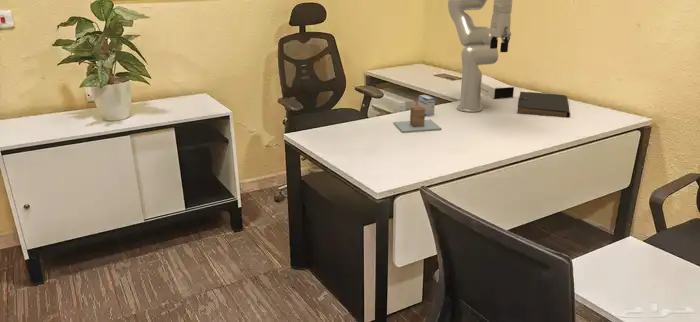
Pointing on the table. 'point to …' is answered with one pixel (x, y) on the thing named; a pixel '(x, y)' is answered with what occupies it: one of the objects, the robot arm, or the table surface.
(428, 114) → the medicine box
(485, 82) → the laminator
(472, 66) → the robot arm
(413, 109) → the walnut block
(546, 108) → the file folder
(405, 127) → the slate board
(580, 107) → the table surface
